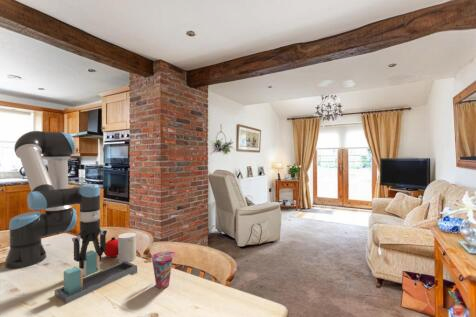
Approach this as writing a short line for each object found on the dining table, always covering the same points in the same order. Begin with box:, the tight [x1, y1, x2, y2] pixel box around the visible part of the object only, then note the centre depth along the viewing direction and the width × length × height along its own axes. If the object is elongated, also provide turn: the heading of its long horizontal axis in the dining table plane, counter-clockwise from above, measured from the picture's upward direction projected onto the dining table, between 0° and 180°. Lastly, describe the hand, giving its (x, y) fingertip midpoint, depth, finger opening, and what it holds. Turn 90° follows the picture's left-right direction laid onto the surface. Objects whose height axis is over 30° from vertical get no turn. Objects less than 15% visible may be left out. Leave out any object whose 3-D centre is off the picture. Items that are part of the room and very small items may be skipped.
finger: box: [84, 249, 98, 277], centre depth 105 cm, size 4×5×9 cm
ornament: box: [103, 236, 118, 259], centre depth 123 cm, size 9×9×10 cm
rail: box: [54, 261, 138, 305], centre depth 98 cm, size 9×28×3 cm, turn 148°
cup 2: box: [150, 251, 176, 289], centre depth 97 cm, size 9×8×12 cm
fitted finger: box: [63, 266, 84, 295], centre depth 89 cm, size 4×5×9 cm
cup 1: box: [117, 232, 137, 263], centre depth 121 cm, size 8×8×12 cm
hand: (90, 272), depth 105 cm, fingers closed on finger, 5 cm apart
